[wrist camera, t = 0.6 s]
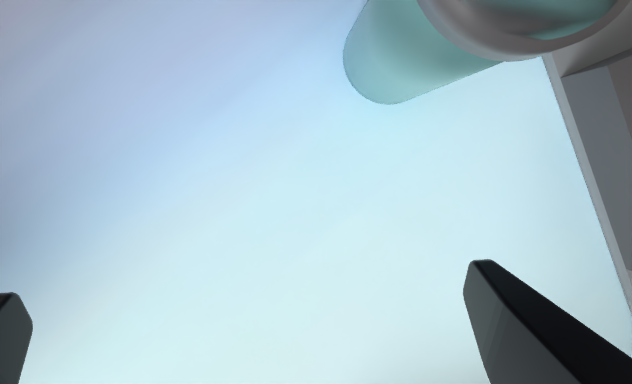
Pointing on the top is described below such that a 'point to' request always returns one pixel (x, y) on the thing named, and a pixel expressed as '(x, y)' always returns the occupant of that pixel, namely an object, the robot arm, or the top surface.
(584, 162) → the holder board
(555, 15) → the teal cylinder
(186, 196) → the top surface
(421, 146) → the top surface
